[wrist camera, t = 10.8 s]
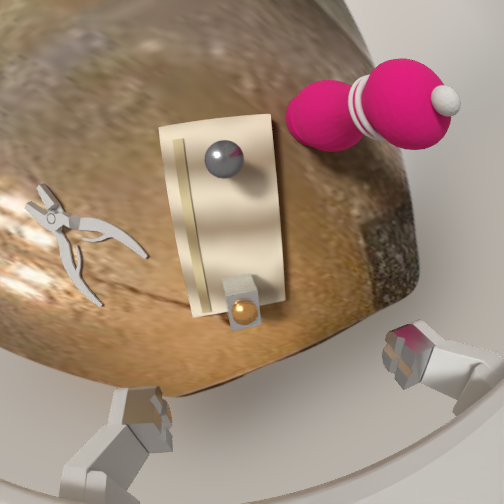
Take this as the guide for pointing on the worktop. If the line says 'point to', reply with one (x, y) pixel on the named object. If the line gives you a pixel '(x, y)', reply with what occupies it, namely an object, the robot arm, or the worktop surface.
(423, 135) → the pepper mill
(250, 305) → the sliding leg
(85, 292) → the pliers
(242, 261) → the board
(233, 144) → the fixed leg
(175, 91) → the worktop surface
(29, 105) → the worktop surface
